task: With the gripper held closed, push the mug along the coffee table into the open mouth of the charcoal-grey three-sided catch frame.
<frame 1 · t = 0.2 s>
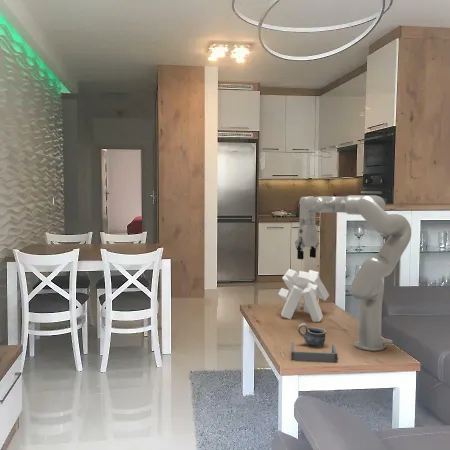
hand: (306, 258, 234), 36 cm above the table, tool pointing down, fingers open, 9 cm apart
mug: (311, 346, 216), on the table
white crossed bars sculpture: (303, 316, 270), on the table
catch frame: (313, 356, 202), on the table
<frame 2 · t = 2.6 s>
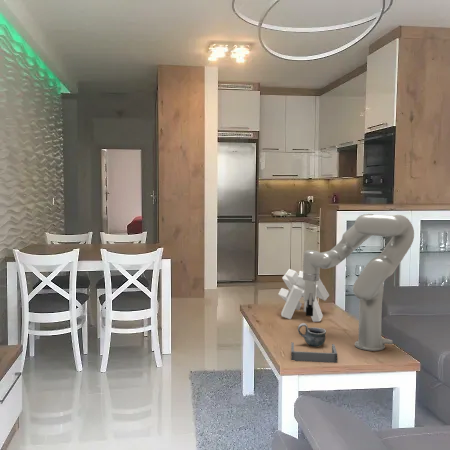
hand: (309, 315, 230), 10 cm above the table, tool pointing down, fingers closed
nothing on the table moved.
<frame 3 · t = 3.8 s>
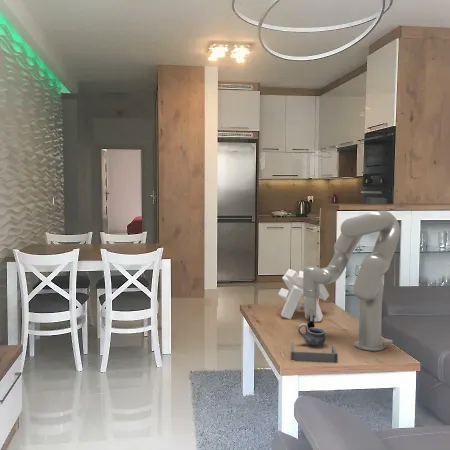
hand: (310, 331, 229), 3 cm above the table, tool pointing down, fingers closed
nothing on the table moved.
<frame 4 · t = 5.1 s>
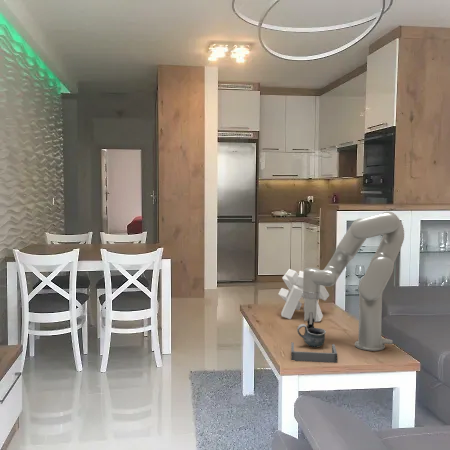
hand: (310, 335, 222), 3 cm above the table, tool pointing down, fingers closed
mug: (311, 346, 215), on the table, touching gripper
everything else where it was.
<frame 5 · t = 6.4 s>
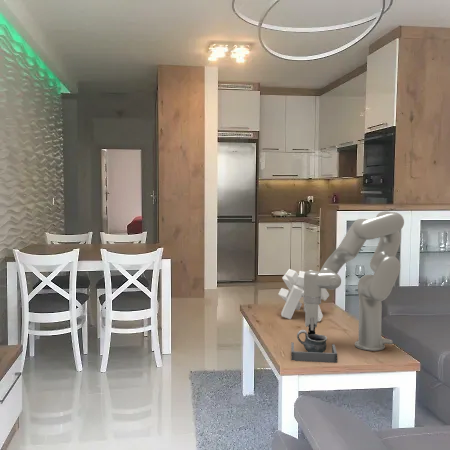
hand: (311, 341, 213), 3 cm above the table, tool pointing down, fingers closed
mug: (311, 354, 205), on the table, touching gripper
everything else where it was.
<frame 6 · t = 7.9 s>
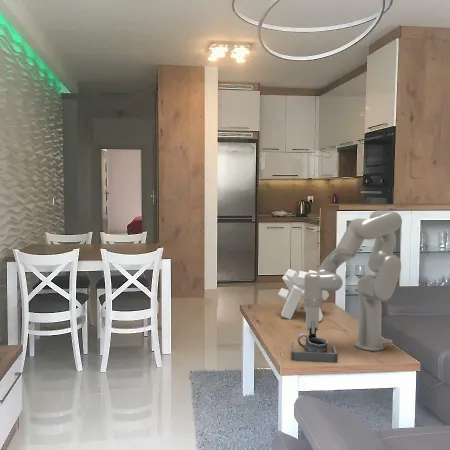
hand: (312, 345, 208), 3 cm above the table, tool pointing down, fingers closed
mug: (312, 357, 200), on the table, touching gripper
everything else where it was.
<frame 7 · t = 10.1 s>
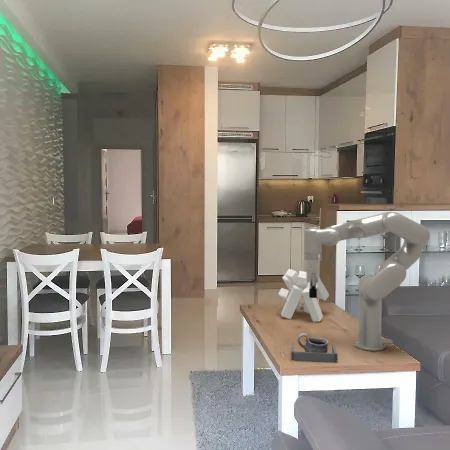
hand: (313, 297, 217), 21 cm above the table, tool pointing down, fingers closed
mug: (312, 358, 200), on the table
everything else where it was.
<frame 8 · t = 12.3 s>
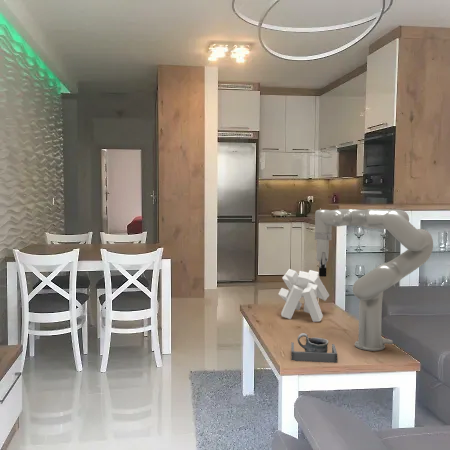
hand: (322, 276, 225), 29 cm above the table, tool pointing down, fingers closed
nothing on the table moved.
at the end: mug inside the target area on the catch frame (0.3 cm from its centre), point 0.0 cm above the catch frame's base; mug tilted 0°; mug moved 16.0 cm from its start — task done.
